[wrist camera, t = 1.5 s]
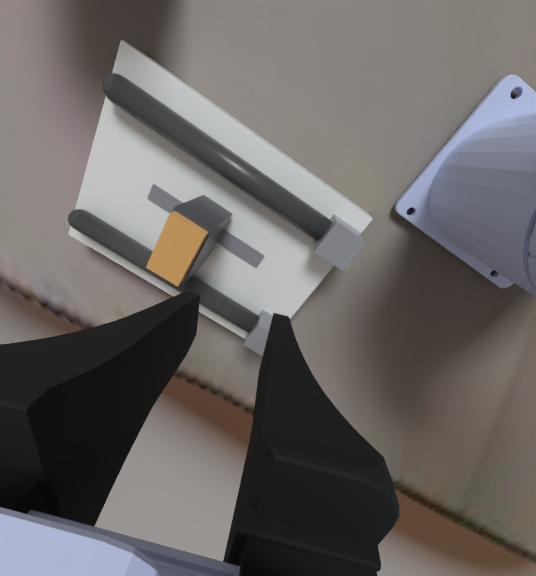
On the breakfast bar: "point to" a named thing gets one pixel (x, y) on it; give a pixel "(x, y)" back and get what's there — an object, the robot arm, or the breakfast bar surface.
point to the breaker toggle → (188, 239)
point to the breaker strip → (216, 186)
